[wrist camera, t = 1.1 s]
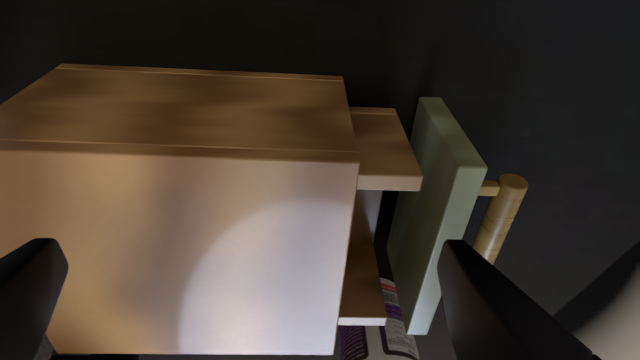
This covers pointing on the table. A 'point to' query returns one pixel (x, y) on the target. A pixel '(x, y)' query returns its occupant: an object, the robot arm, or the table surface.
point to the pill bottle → (379, 335)
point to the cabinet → (184, 206)
